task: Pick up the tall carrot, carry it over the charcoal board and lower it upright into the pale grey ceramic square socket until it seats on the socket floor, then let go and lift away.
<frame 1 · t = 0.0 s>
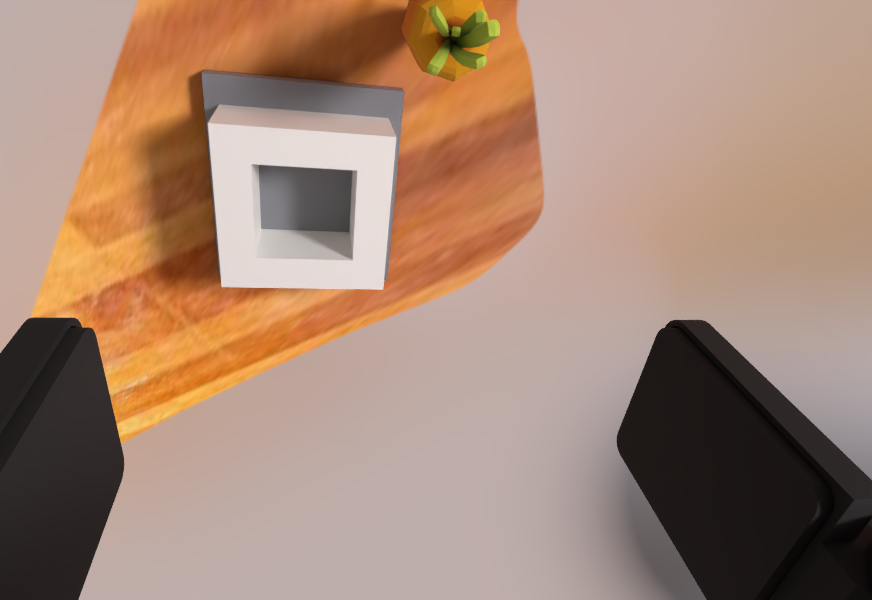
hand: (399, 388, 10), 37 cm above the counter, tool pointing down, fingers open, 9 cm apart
carrot: (421, 15, 40), on the counter
socket stand: (306, 184, 45), on the counter
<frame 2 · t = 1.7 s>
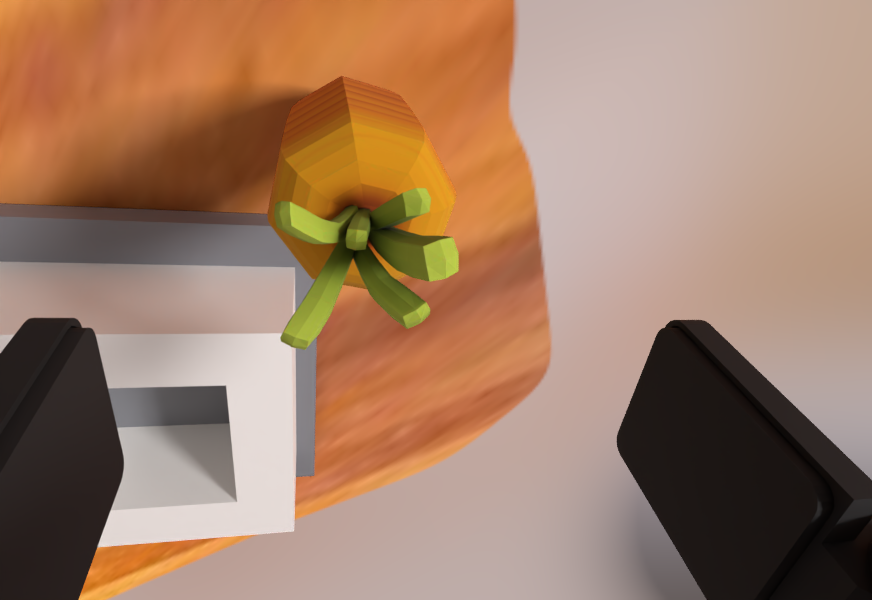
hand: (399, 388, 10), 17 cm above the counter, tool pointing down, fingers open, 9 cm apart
carrot: (344, 103, 23), on the counter
socket stand: (172, 357, 28), on the counter
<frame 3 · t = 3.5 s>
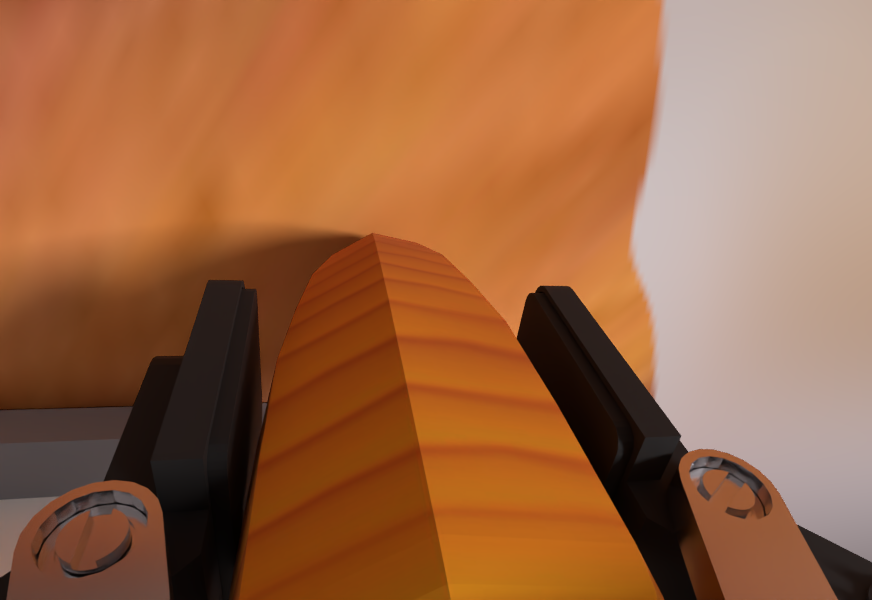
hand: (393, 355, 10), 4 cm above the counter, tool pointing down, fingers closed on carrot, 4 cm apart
carrot: (372, 244, 14), on the counter, touching gripper
socket stand: (110, 586, 19), on the counter
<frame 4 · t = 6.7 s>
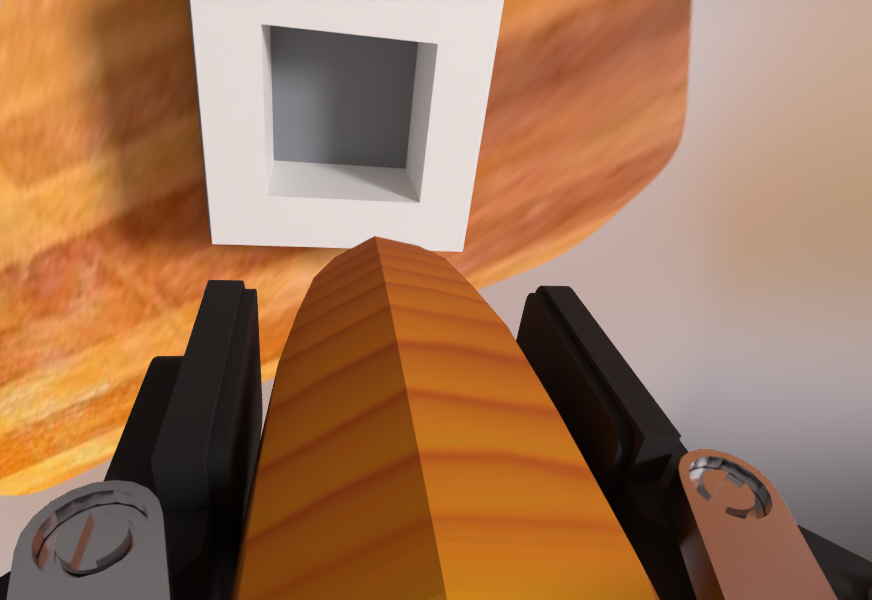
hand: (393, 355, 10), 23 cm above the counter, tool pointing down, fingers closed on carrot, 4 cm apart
carrot: (374, 247, 14), point 18 cm above the counter, touching gripper
socket stand: (342, 92, 29), on the counter
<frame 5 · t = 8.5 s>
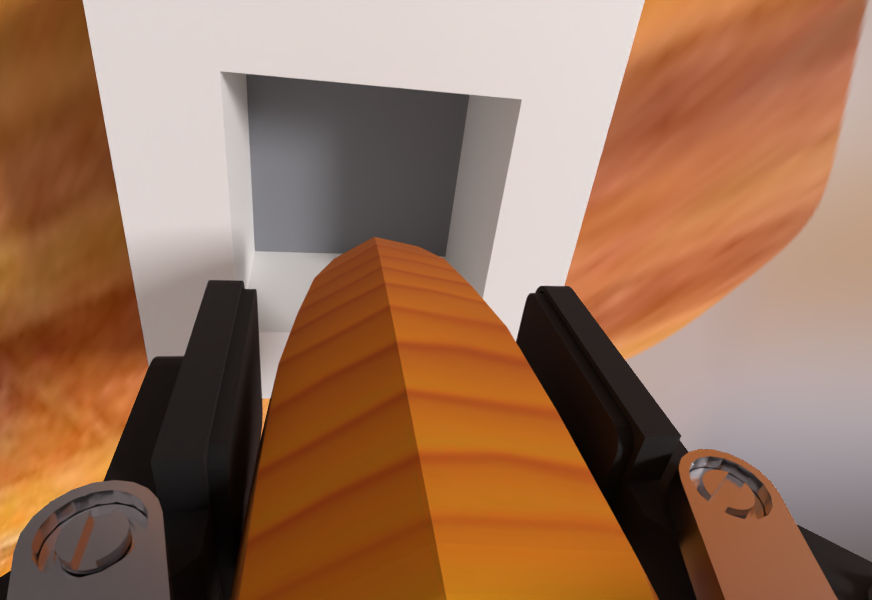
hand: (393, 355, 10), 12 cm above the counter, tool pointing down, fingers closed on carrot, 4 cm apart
carrot: (374, 247, 14), point 7 cm above the counter, touching gripper
socket stand: (356, 150, 20), on the counter
when the fingers open (7 cm above the counter, at t = 9.8 s): carrot drops 2 cm, resting on socket stand.
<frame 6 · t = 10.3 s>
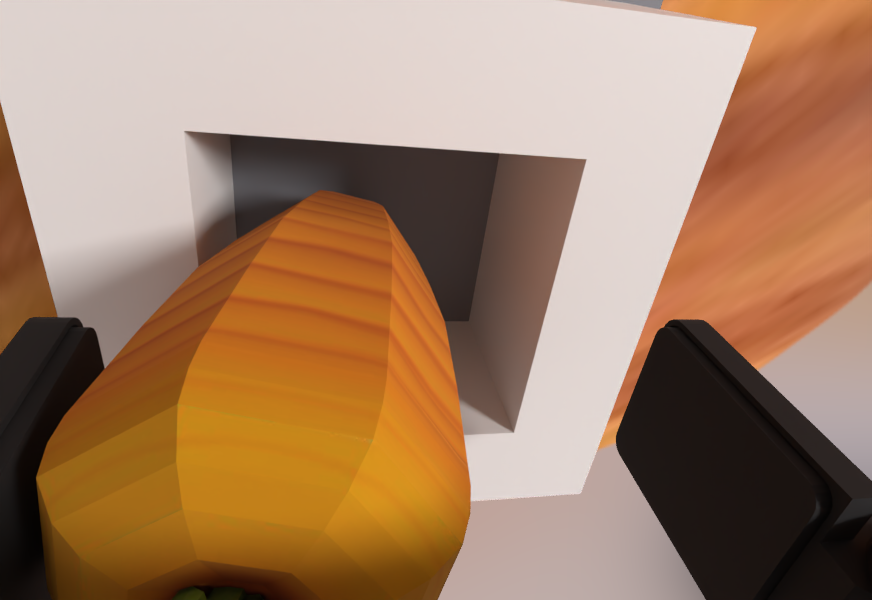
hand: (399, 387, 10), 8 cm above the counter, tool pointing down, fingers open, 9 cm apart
carrot: (352, 211, 16), point 1 cm above the counter, touching gripper, socket stand
socket stand: (364, 200, 17), on the counter
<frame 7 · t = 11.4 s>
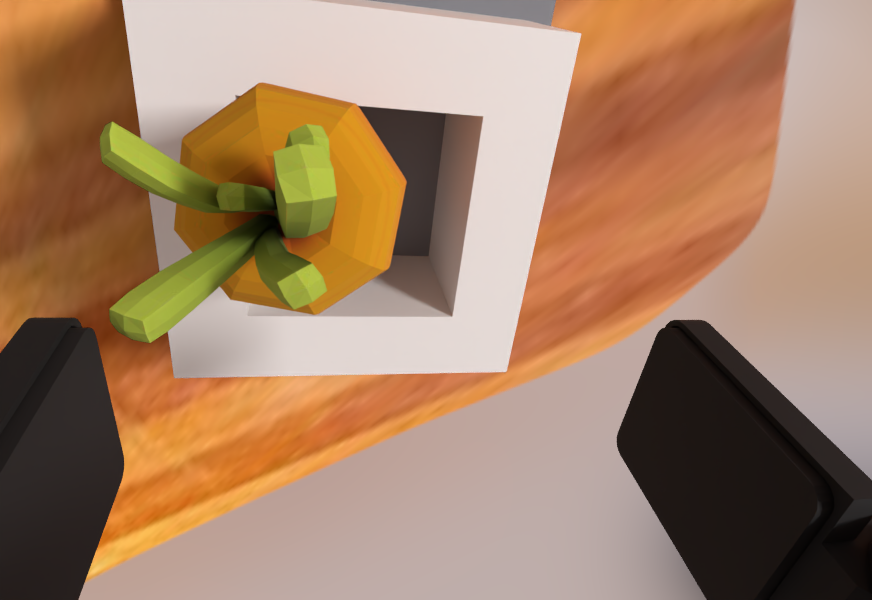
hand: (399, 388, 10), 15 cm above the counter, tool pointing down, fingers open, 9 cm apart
carrot: (339, 170, 22), point 1 cm above the counter, touching socket stand
socket stand: (348, 163, 23), on the counter
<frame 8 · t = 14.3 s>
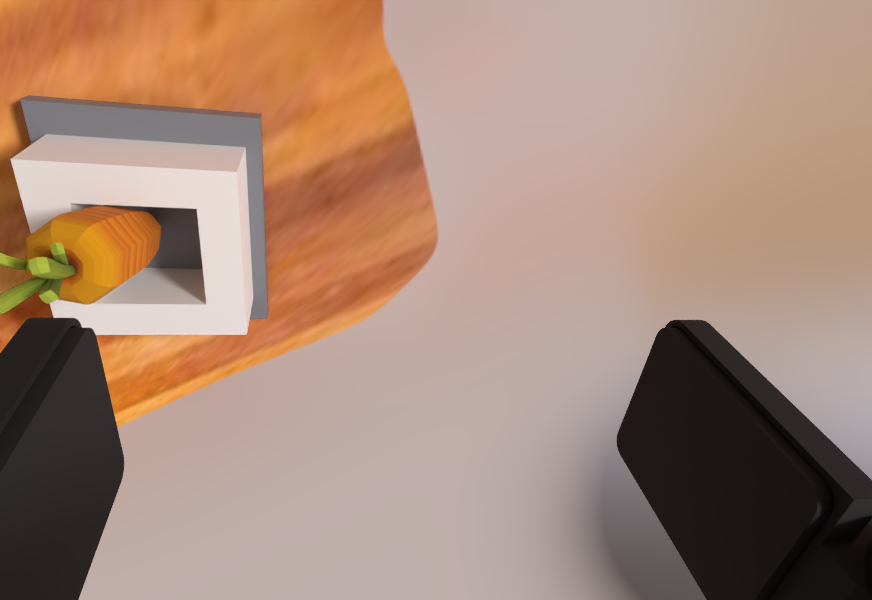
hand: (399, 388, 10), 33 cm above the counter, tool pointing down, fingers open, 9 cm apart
carrot: (154, 224, 40), point 1 cm above the counter, touching socket stand
socket stand: (164, 218, 41), on the counter
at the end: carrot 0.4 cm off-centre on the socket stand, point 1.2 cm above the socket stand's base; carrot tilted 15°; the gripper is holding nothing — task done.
